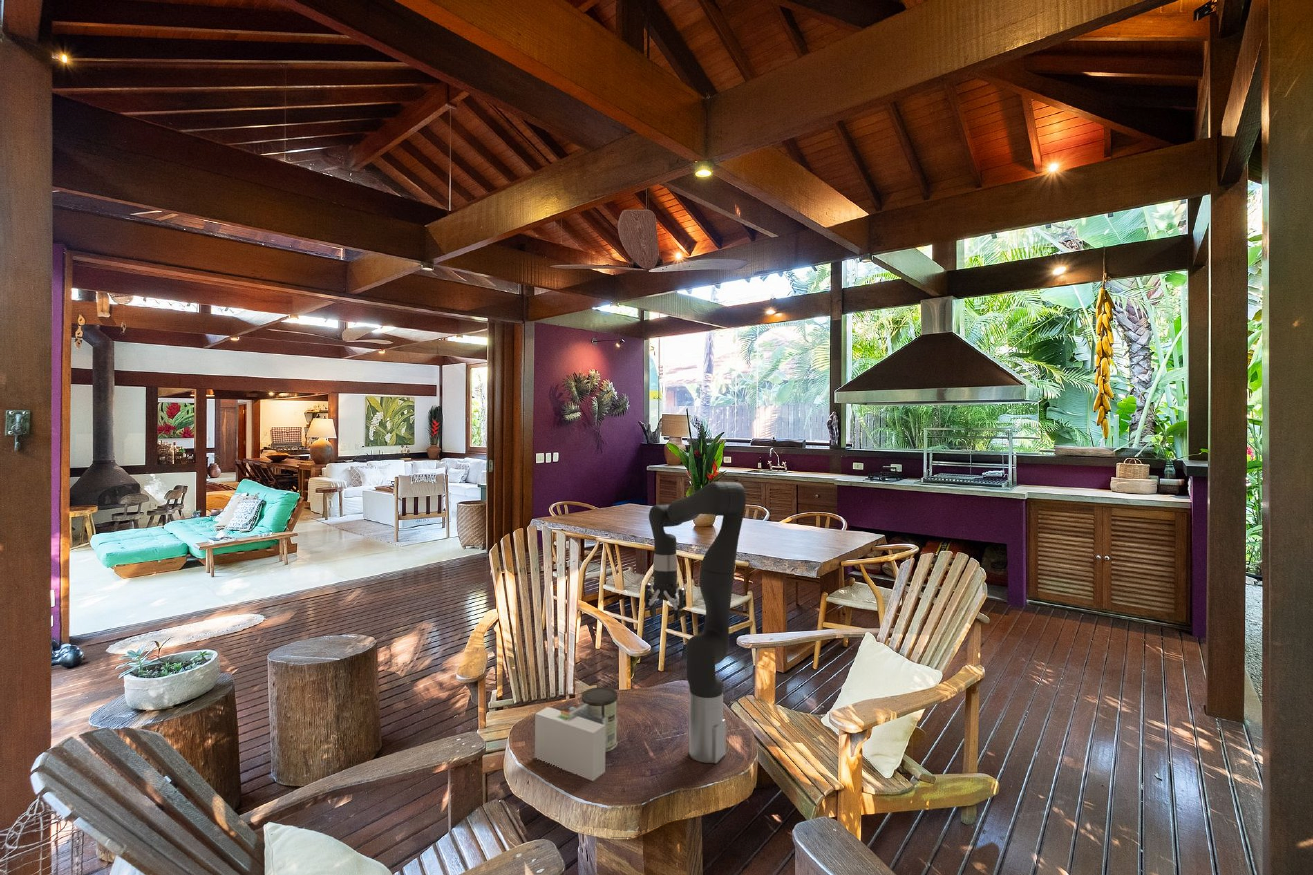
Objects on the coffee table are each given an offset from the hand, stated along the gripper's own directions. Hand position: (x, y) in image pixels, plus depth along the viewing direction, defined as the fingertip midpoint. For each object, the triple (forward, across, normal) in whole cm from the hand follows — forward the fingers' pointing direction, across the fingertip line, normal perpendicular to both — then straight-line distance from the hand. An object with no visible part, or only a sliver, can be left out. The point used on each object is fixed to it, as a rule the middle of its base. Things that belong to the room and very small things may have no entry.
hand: (664, 619), depth 186 cm
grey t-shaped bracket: (+28, -6, -34) cm, 45 cm away
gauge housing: (+30, -6, -38) cm, 49 cm away
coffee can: (+30, -6, -26) cm, 40 cm away
